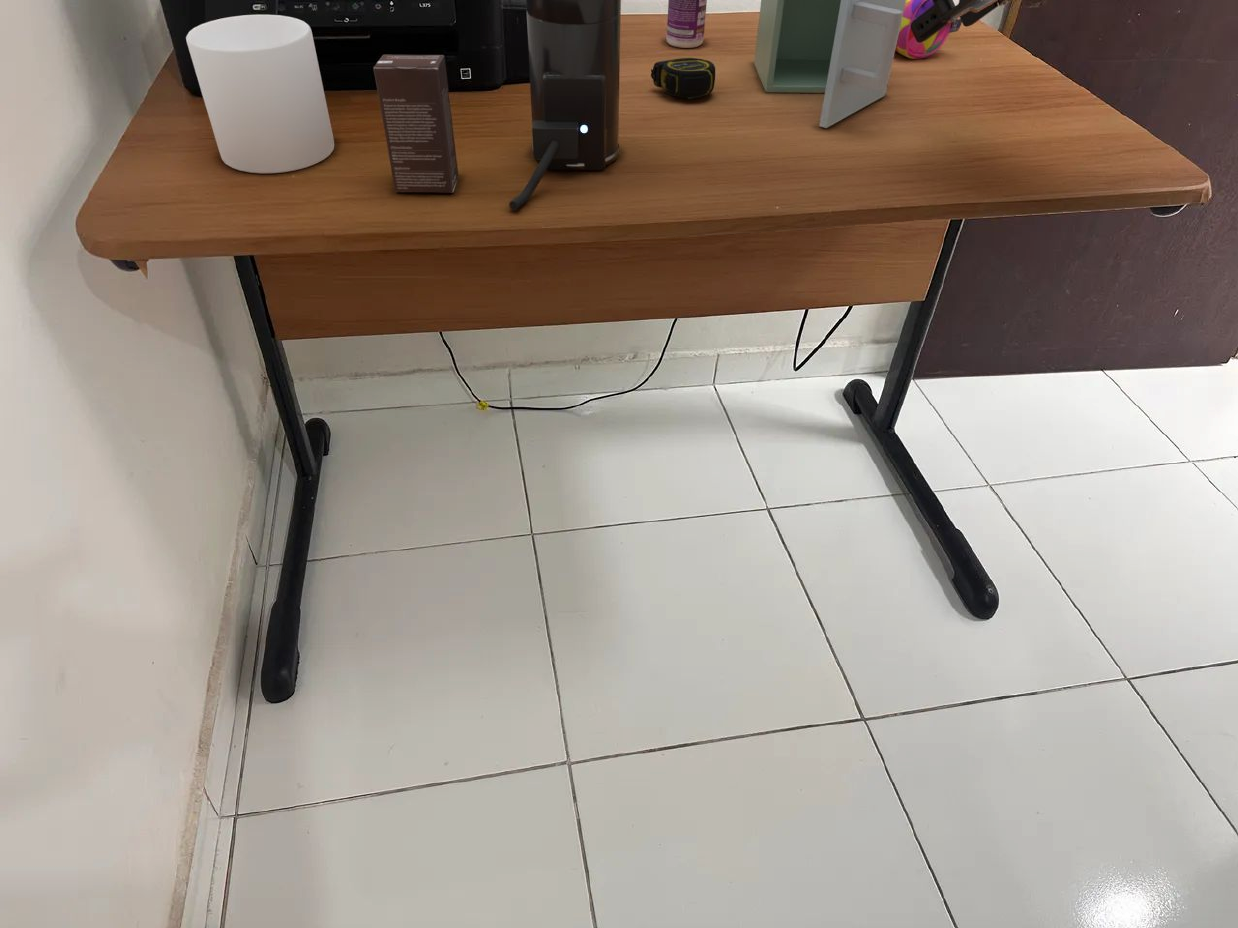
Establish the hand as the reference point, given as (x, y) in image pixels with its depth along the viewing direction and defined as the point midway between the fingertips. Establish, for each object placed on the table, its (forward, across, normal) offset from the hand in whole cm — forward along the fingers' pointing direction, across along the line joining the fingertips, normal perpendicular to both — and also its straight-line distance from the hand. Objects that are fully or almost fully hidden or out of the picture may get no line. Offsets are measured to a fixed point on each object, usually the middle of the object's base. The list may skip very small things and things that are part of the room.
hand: (939, 26), depth 89 cm
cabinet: (+24, -9, -6) cm, 26 cm away
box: (+27, +47, -9) cm, 55 cm away
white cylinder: (+39, +55, -21) cm, 71 cm away
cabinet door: (+14, -4, +3) cm, 15 cm away
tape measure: (+29, +8, -11) cm, 32 cm away
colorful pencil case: (+27, -30, -9) cm, 42 cm away
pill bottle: (+39, -6, -21) cm, 44 cm away
